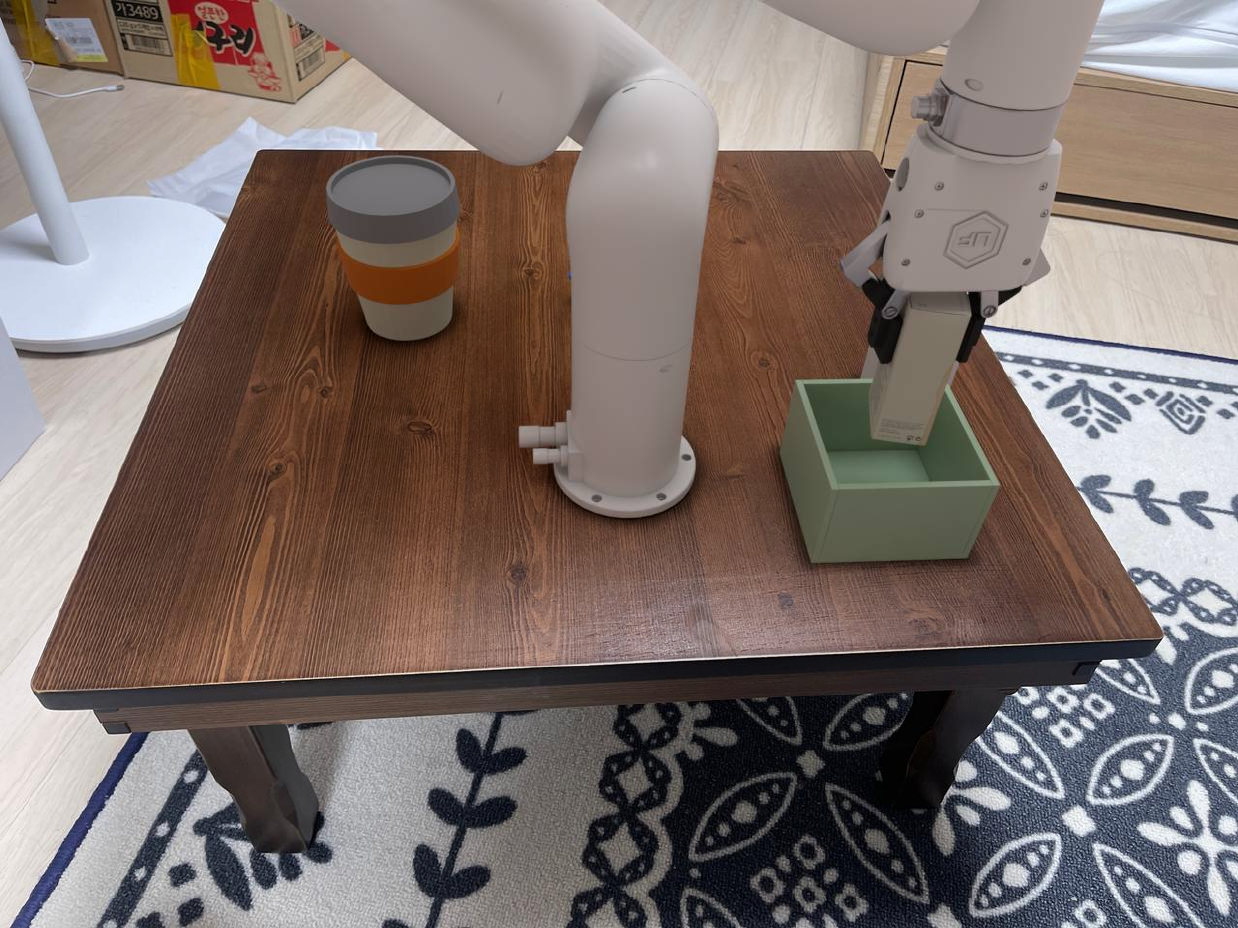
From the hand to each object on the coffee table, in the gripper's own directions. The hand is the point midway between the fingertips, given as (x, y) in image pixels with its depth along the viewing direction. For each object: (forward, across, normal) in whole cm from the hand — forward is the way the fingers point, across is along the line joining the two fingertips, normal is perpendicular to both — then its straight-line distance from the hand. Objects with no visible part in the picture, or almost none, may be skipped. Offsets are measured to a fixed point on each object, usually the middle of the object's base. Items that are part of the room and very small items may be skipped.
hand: (918, 350), depth 70 cm
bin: (+17, 0, 0) cm, 17 cm away
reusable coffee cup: (+17, -42, +29) cm, 54 cm away
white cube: (+17, +7, +15) cm, 24 cm away
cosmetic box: (+7, 0, 0) cm, 7 cm away
